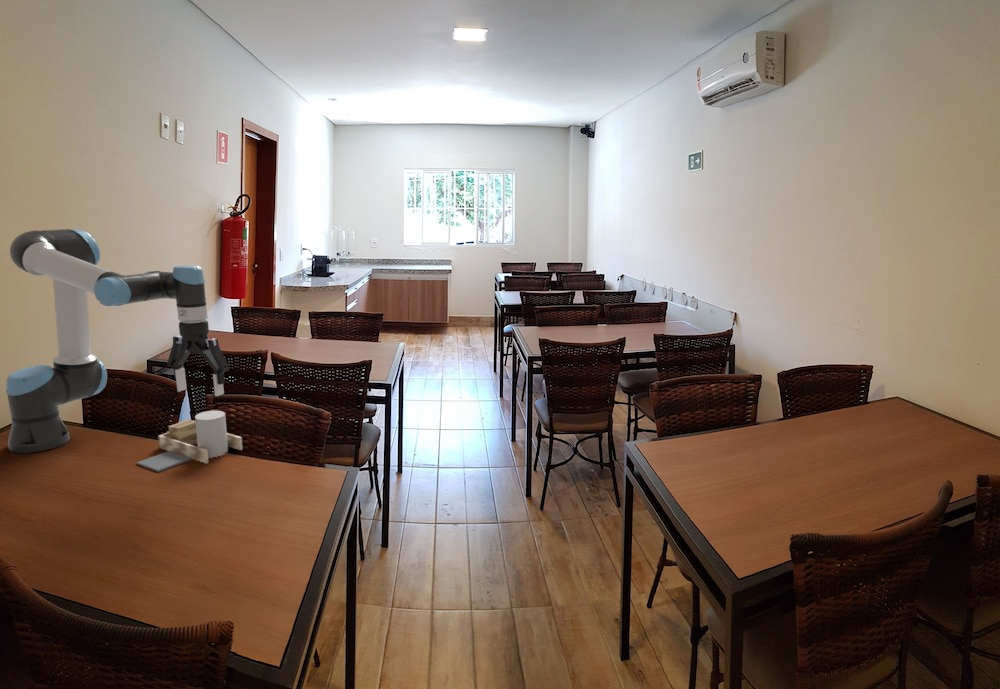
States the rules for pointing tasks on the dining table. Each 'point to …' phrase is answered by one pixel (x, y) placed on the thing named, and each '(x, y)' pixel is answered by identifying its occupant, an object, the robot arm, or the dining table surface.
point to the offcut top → (182, 429)
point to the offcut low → (188, 439)
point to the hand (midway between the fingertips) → (200, 392)
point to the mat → (164, 461)
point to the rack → (193, 450)
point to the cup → (212, 432)
